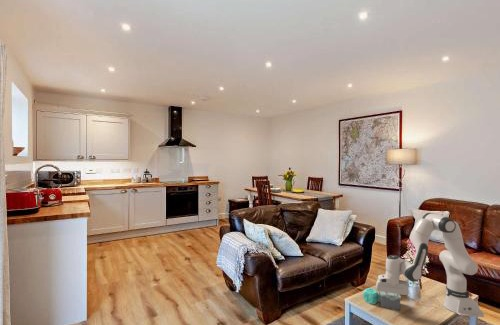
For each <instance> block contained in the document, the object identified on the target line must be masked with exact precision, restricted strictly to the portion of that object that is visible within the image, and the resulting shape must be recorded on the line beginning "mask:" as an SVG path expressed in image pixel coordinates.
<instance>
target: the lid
mask: <svg viewBox="0 0 500 325" xmlns="http://www.w3.org/2000/svg"><path fill="white" fill-rule="evenodd" d="M380 294H381V296H384V297H386V294H385V292H382V291H380ZM387 295H389V300H392V301H395V297H394V296H396V293H389V292H388V294H387ZM397 299H400V300H401V299H402V296H401V294H399V296H398V297H397Z"/></svg>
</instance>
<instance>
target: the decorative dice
mask: <svg viewBox="0 0 500 325" xmlns="http://www.w3.org/2000/svg"><path fill="white" fill-rule="evenodd" d="M362 297H363V299H364V301H365V302H366V303H367V304H371V305H376V304H377V303H378V302H379V291H377V289H374V288H372V287H367V288H365V289H364V291H363V293H362Z"/></svg>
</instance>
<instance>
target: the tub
mask: <svg viewBox="0 0 500 325" xmlns="http://www.w3.org/2000/svg"><path fill="white" fill-rule="evenodd" d="M378 294H379V300H378V302H379V306H380V307H381V308H385V309H390V310H391V309H392V310H397V311H400V310H401V299H397V300H396V299H395V301H392V300H389V298H387V297H384V296H381V294H380V291H378Z"/></svg>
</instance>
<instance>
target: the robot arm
mask: <svg viewBox="0 0 500 325" xmlns="http://www.w3.org/2000/svg"><path fill="white" fill-rule="evenodd" d="M459 225H460V224H458V222H457V221H455V220H454V219H452V218H450V217H448V216H445V215H443V214H438V213H434V212H426V213H425V214H424V215H423V216H422V218H419V219H418V220H417V221H416V222H415V224H414V226H413V228H412V230H411V232H410V234H409V240H410V243H411V244H412V245H413V246H414V248H415V255H414V259H413V261H412V263H411V262H410V261H409V260H407V259H403V258H401V257H399V256H398V255H396V254H389V255H388V256H387V257H386V258H385V274H379V275H378V276H377V279H376V283H375V290H376V291H377V292H379V291H382V292H385V294H386V297H387V298H389V295H387V294H388V292H389V293H396V296H394V297H395V299H396V300H397V297H398V296H399V294H400V295H402V296H403V295H405V296H408V295H409V287H410V283H409V282H413V283H414V282H415V283H416V282H418V281H420V280H421V279H422V276H423V269H424V265H425V262H426V259H427V257H428V252H429V246H428V245H429V240H430V238H431V237H432V236H431V235H432V233H433V232H434V231H439V232H442V238H443V242H444V247H445V249H444V250H442V251H440V253H439V255H438V256H439V258H438V259H439V261H440V262H441V263H442V265H443V267H444V269H445V274H446V285H445V298H444V301H443V303H442V305H443V307H444V308H445V309H447V310H449V311H450V312H453V313H455V314H458V315H459V316H462V317H480V318H484V316H485V313H484V312H483V310H481V308H480V306H479V304H478V302H477V301H476V300H475V299H473V298H472V297H473V294H472V293H471V292H470V291H469V290H467V278H466V277H465V276H464V274H465V275H469V276H473V275H476V274H477V272H478V271H479V266H478V263H477V262H475V261H474V260H473V259H472V257H471V256H470V254H469V252H468V251H467V249H466V246H465V242H464V239H463V235H462V230H461V228H460V226H459ZM401 275H403V276H404V277H405V278H406V279H407V280H409V282H408V281H407V280H402V279H400V278H401V277H400V276H401Z"/></svg>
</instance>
